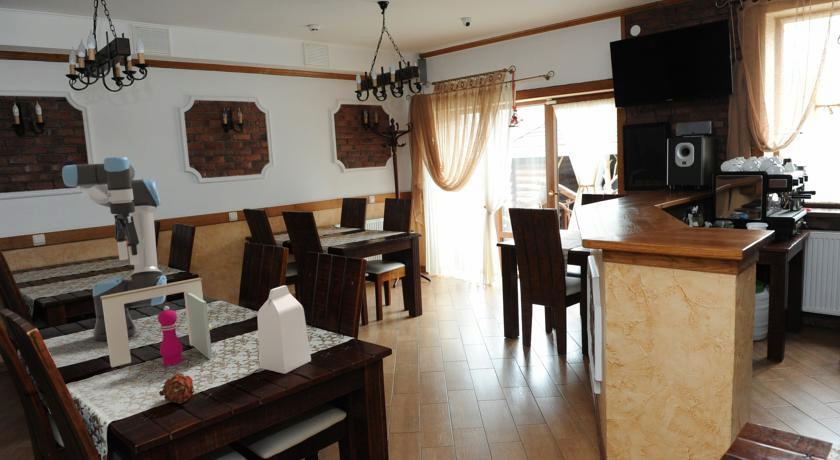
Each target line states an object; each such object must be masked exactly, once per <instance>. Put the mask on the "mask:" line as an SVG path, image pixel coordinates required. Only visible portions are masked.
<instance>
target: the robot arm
mask: <svg viewBox="0 0 840 460" xmlns="http://www.w3.org/2000/svg"><path fill="white" fill-rule="evenodd" d="M61 173H62V175H61V176H62V181H63V184H64V185H65V186H66V187H70V188H71V187H74V188H76V187H79V188H80V189H82V190H83V191H85V192H86V193H87V194H88V196H89V198H90V200H92V201H93V202H94V203H96V204H98V205H100V206H103V207H106V208H109V211H110V212H109V213H110V214H111V215H114V216H113V217H114V239H115V241H116V244H117V251H118V257H119V261H125V260H126V261H127V260H128V259H129V263H130V266H133V267H134V269H133V272H131V273H130V278H129V279H126V278H125V276H121V275H119V276H113V277H109V278H105V279H102V280H99V281H97V282H95V283H94V284H93V286H92V298H93V305H94V311H95V317H96V321H95V325H94V330H93V340H95V341H97V342H107V334H106V327H105V320H104V312H103V305H102V299H101V298H100V296H105V295H111V294H116V293H121V292H127V291H132V290H137V289H142V288H148V287H153V286H158V285H164V284H168V283H167V280H168V279H167V276H166V275H163V271H162V270H160V269H159V268H158V256H157V246H156V245H157V244H156V231H155V230H156V229H155V218H154V217H155V216H154V214H155V213H156V212H157V211H158V207H159V206H161V199H160V194H159V190H158V187H157V183H156V181H154V179H150V178H149V179H148V178H145V179H143V178H142V179H141V178H140V179H135V177H136V171H135V167H134V166H132V164H130V162H129V158H128V157H127V156H115V157H114V156H113V157H111V156H110V157H105V158H104V159H103V163H89V164H88V163H86V164H85V163H84V164H70V165H69V164H68V165H64V166H63V167H62V170H61ZM166 297H167V295H165V296H160V297H155V298H150V299H145V300H140V301H135V302H130V303H125V304H124V310H125V317H126V325H127V333H128V337H130V336H133V335H134V334H136V332H137V328H136V324H135V323H134V321H133V319H132V317H131V315H130V312H129V309H133V308H141V307H148V306H149V307H150V306H151V307H152V306H153V307H154V306H156V305H161V304H163V303H164V302H165V301H166Z"/></svg>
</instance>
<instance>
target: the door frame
mask: <svg viewBox="0 0 840 460" xmlns="http://www.w3.org/2000/svg"><path fill="white" fill-rule="evenodd" d="M202 281H203V278H201V277H196V278H191V279H186V280H181V281H174V282H169V283H167V284H164V285H158V286H153V287H148V288H142V289H137V290H132V291H127V292H121V293H116V294H111V295H105V296H100V298H101V299H102V305H103V312H104V320H105V327H106V334H107V341H106V342H107V347H108V355H109V357H108V358H109V363H110V367H111V368H115V367H116V368H117V367H118V366H124V365H127V364H131V362H132V356H131V350H130V349H131V348H130V343H129V342H130V341H129V336H128V333H127V325H126V317H125V310H124V304H125V303H130V302H135V301H140V300H145V299H150V298H155V297H160V296H165V295H166V296H168V295H169V296H170V295H174V294H180V293H183V294H184V302H185V303H184V304H185V313H186V314H185V315H186V321H187V331H188V337H189V345H190V346H191V347H194V346H193V345H192V339H191V330H190V321H189V313H188V304H187V295H186V293H188V292H190V293H192V294H194V295H195V296H197V297H199V298H201V299H202V300H204V294H203V286H202Z"/></svg>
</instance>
